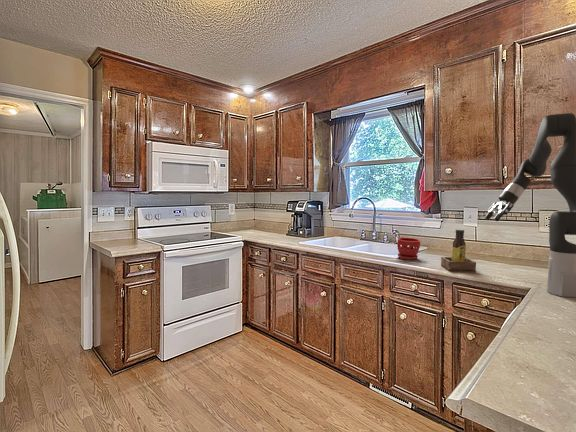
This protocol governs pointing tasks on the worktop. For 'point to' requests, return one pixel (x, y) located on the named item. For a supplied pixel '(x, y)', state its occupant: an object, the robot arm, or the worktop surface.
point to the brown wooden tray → (458, 265)
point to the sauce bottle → (459, 247)
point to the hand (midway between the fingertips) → (490, 219)
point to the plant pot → (408, 248)
